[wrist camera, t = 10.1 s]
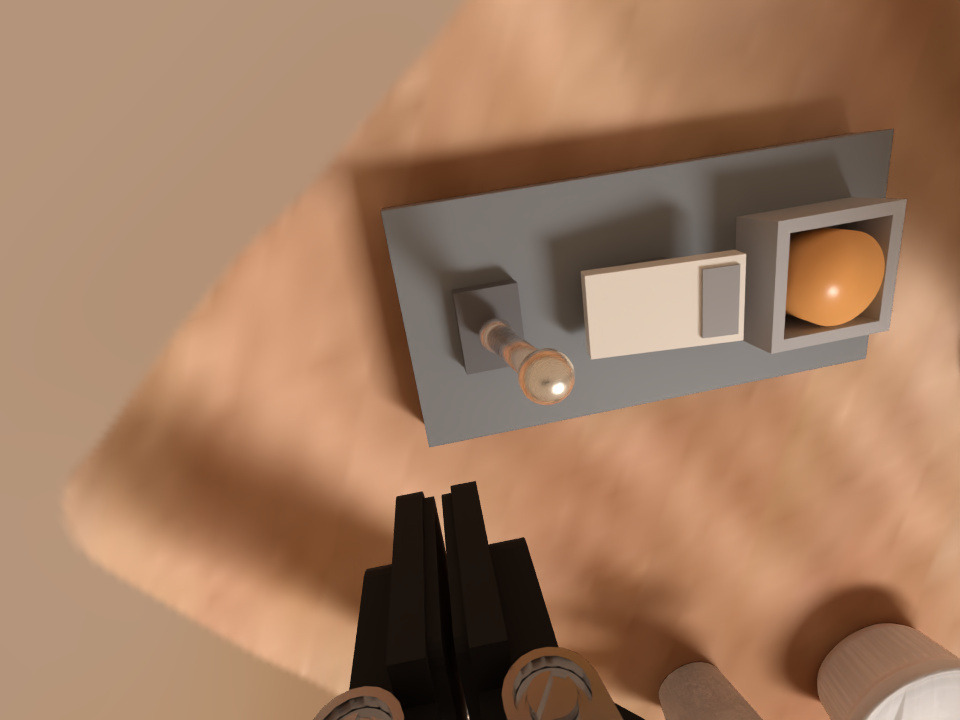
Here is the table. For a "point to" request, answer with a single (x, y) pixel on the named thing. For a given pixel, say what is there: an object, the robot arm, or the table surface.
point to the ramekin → (890, 677)
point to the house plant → (702, 695)
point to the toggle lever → (530, 363)
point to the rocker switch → (664, 304)
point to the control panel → (621, 241)
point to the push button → (832, 274)
